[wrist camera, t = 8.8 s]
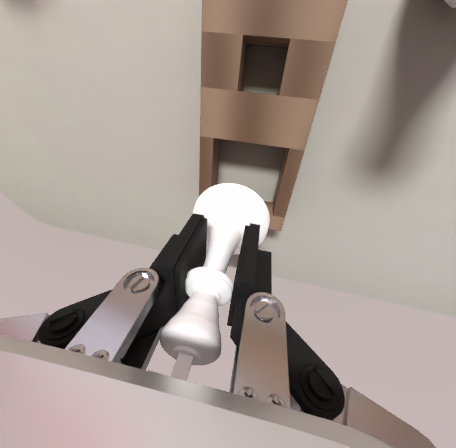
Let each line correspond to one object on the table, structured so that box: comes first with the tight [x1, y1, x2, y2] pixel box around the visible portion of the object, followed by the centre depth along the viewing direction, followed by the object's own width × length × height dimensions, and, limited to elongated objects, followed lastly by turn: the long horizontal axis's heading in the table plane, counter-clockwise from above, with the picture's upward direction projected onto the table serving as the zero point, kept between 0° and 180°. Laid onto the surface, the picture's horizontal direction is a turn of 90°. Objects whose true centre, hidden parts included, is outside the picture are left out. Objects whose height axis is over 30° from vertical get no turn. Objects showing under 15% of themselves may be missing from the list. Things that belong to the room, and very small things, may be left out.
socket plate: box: [199, 0, 348, 231], centre depth 18 cm, size 9×18×3 cm, turn 175°
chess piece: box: [148, 183, 270, 381], centre depth 9 cm, size 5×5×10 cm
